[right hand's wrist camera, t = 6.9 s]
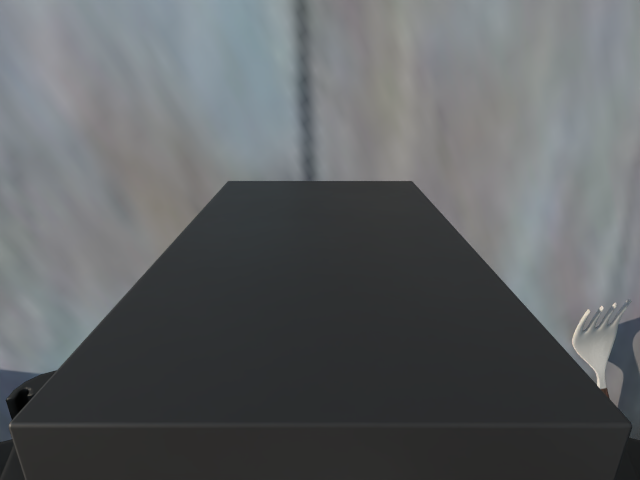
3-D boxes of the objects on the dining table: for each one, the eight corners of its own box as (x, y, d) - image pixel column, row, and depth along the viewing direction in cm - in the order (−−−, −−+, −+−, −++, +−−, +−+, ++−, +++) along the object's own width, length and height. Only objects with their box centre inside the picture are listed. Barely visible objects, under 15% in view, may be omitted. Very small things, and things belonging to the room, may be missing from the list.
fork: (587, 488, 30) (605, 515, 28) (565, 294, 25) (585, 311, 23) (626, 480, 30) (646, 507, 28) (611, 282, 25) (635, 299, 23)
